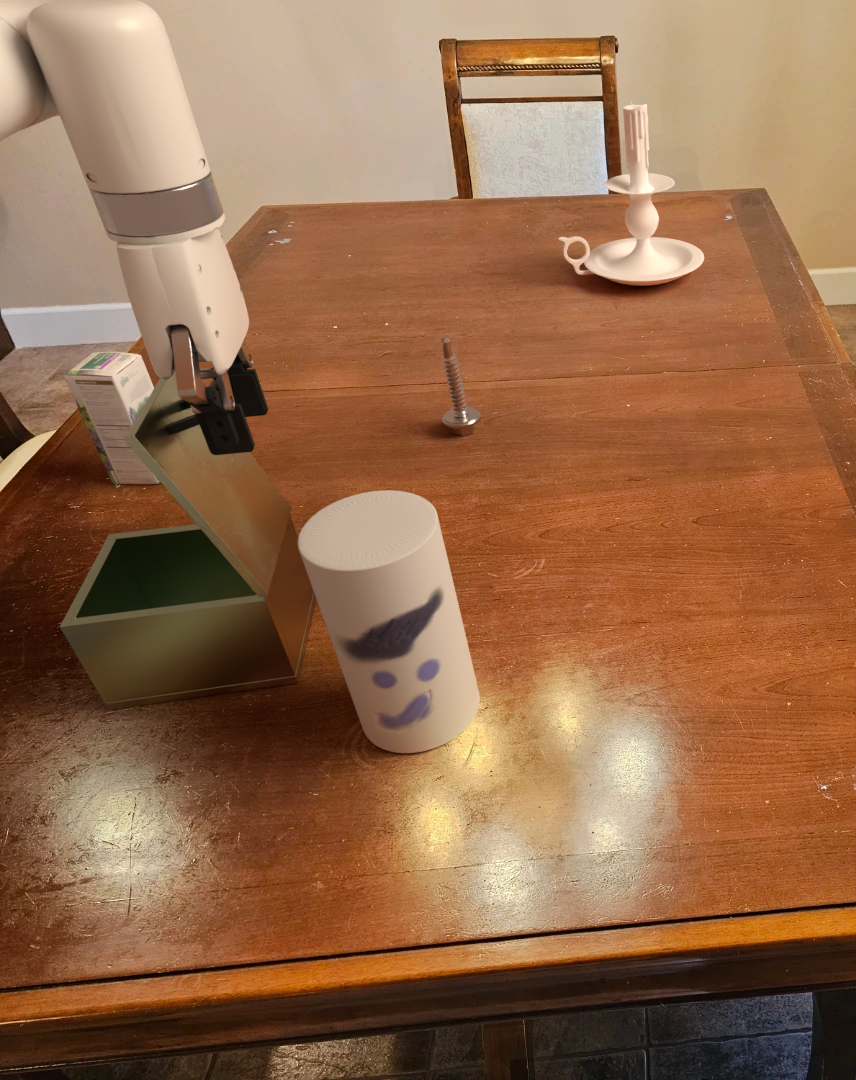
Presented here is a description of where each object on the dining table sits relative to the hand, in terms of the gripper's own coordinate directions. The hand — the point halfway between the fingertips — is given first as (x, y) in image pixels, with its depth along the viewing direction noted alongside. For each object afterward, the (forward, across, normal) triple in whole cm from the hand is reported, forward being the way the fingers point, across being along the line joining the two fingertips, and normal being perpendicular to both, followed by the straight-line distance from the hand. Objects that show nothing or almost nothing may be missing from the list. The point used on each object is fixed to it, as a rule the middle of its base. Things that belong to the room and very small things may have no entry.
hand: (240, 430), depth 75 cm
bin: (+23, 0, -8) cm, 24 cm away
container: (+23, +12, +11) cm, 28 cm away
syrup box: (+23, -34, -23) cm, 47 cm away
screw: (+23, -36, +14) cm, 45 cm away
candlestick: (+22, -83, +42) cm, 95 cm away
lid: (+4, 0, -3) cm, 5 cm away
